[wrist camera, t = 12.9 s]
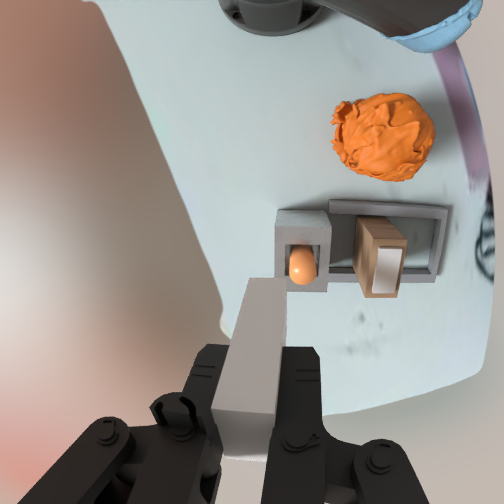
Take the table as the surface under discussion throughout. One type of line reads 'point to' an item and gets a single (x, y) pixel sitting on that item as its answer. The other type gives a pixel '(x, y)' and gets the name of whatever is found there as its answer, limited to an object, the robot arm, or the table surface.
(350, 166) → the orange figurine
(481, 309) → the table surface
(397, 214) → the guide channel
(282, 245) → the grey block with hole
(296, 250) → the orange rounded peg
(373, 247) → the carriage
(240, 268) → the table surface
